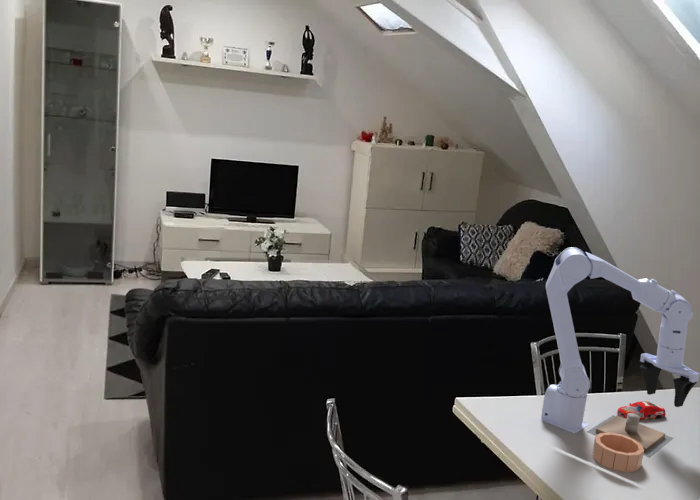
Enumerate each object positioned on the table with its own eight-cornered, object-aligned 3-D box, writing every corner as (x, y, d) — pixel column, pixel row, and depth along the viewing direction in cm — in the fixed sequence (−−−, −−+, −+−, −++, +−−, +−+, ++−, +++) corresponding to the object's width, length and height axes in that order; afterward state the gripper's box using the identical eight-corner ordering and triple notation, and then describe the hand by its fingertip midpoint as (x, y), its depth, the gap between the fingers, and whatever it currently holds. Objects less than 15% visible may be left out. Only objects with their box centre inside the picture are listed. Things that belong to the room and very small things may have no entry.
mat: (586, 433, 162) (586, 431, 162) (612, 417, 173) (613, 415, 173) (649, 459, 152) (649, 457, 152) (672, 440, 163) (673, 438, 163)
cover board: (595, 432, 162) (598, 413, 161) (616, 418, 171) (619, 400, 170) (645, 452, 154) (649, 432, 153) (664, 437, 163) (668, 418, 162)
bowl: (584, 459, 150) (587, 441, 149) (603, 446, 157) (607, 428, 156) (628, 479, 143) (632, 459, 142) (647, 464, 150) (650, 445, 149)
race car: (625, 424, 170) (627, 410, 169) (611, 415, 175) (614, 400, 174) (668, 421, 174) (671, 407, 173) (653, 412, 179) (656, 398, 178)
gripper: (710, 353, 153) (703, 408, 156) (657, 334, 166) (650, 385, 169) (690, 357, 150) (682, 414, 153) (636, 337, 163) (630, 390, 165)
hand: (664, 399), depth 160 cm, fingers open, 7 cm apart
